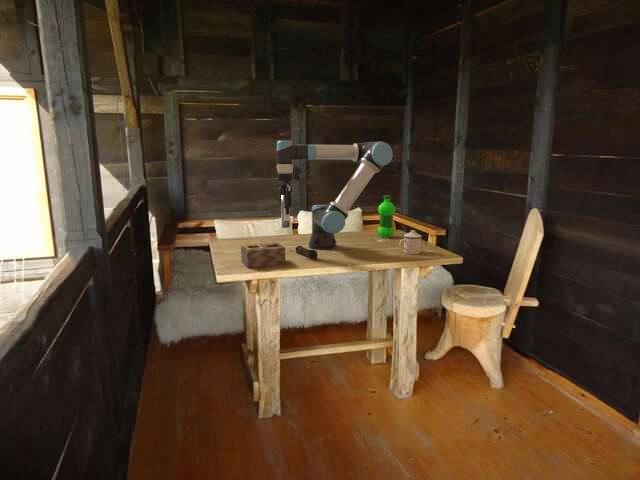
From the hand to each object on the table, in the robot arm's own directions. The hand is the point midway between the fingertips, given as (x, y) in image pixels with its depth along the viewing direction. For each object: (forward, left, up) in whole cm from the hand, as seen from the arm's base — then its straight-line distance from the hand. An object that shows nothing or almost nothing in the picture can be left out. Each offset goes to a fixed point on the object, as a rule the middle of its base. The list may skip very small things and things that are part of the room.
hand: (285, 219), depth 239 cm
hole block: (+15, +12, -18) cm, 26 cm away
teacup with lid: (-62, +18, -18) cm, 67 cm away
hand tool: (-10, +7, -18) cm, 22 cm away
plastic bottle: (-71, -22, -18) cm, 76 cm away
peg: (0, 0, -4) cm, 4 cm away
